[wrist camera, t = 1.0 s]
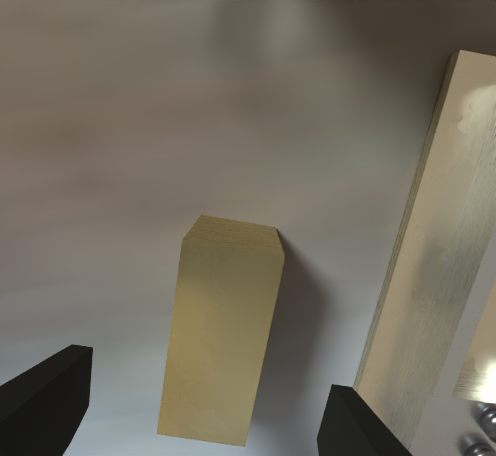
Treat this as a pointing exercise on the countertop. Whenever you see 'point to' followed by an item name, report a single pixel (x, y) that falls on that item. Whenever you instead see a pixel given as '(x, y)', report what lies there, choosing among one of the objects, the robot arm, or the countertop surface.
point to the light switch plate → (443, 283)
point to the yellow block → (219, 329)
